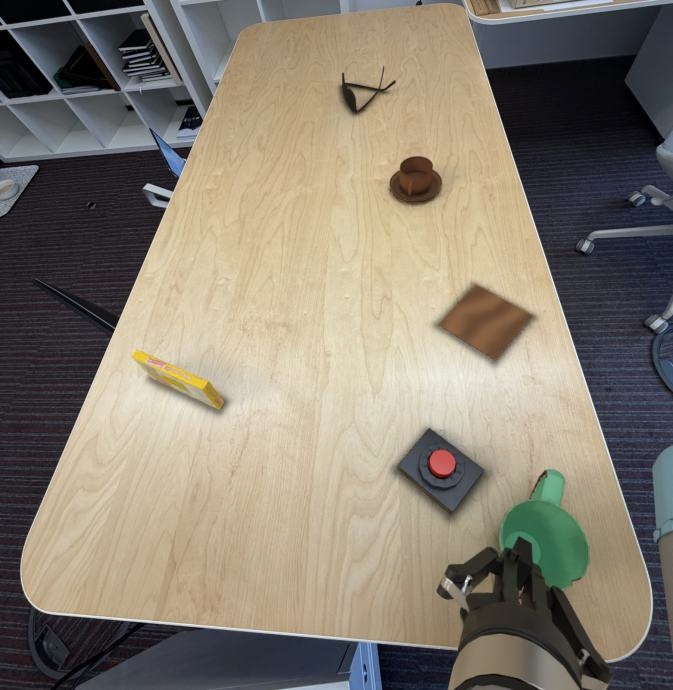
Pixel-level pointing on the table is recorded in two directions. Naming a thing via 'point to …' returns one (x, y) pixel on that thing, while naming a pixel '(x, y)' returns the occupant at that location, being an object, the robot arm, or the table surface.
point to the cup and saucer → (415, 180)
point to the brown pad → (485, 321)
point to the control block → (438, 488)
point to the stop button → (442, 463)
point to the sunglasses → (350, 95)
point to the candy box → (179, 379)
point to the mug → (548, 532)
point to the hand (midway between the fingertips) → (520, 549)
